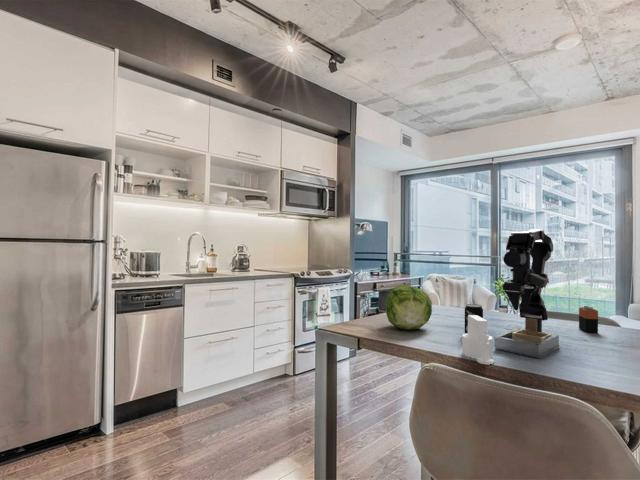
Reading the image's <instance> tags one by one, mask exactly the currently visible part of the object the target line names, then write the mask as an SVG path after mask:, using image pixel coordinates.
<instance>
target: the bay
mask: <svg viewBox="0 0 640 480" xmlns="http://www.w3.org/2000/svg"><path fill="white" fill-rule="evenodd" d="M520 329H521V328H519V327H516V328H513V329H511V330H509V331H506V332H503V333H501V334H499V335H496V336H494V343H493V344H494V345H493V346H494V349H495V350H498V349H499V351H502V350H504V351H503V352H507V351H509V352H508V353H511V352H514V353H513V354H516V353H518V354H517V355H521V354H523V355H522V356H525V355H527V356H526V357H530V356H532V357H531V358H535V357H536V358H535V359H539V358H541V359H543V358H544V357H546V356H548V355H549V354H551V353H554V352H555V351H557V350H558V349H560V344H559V343H560V335H559V334H555V333H554V334H553V335H552V336H551V337H548V338H546V339H544V340H542V341H540V342H538V343H536V344H534V343H529V342H524V341H518V340H513V339H512V333H513V332H515V331H518V330H520ZM542 357H543V358H542Z"/></svg>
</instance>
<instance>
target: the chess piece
mask: <svg viewBox="0 0 640 480" xmlns="http://www.w3.org/2000/svg"><path fill="white" fill-rule="evenodd" d="M483 333H485V334H484V335H482V337H483V341H484V342H482V344H483V345H484V349H483V355H482V357H479V358H477V359H476V362H477V363H478V364H481V365H488V366H491V365H490V364H492V365H494V364H495V360H494V359H493V358H490V357H489V355H488V348H487V345H489V343H488V342H487V341H488V339H489V336H490V335H489V333H490V331H488V328H487V329H485V331H483ZM493 363H494V364H493Z"/></svg>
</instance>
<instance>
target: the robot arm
mask: <svg viewBox="0 0 640 480" xmlns="http://www.w3.org/2000/svg"><path fill="white" fill-rule="evenodd" d="M506 243H507V244H506V248H505V250H506V251H507V252H505V254H504V256H503V257H502V258H503V259H502V260H503V263H504V265H505V266H507V267H509V268H510V272H512V279H510V281H505V282H503V284H502V286H501V287H502V289H501V290H502V291H504V293H505V294H506V296H507V298H508V300H509V302H510V303H511V306H512V307H513V310H514V311H518V310H519V311H518V312H519V316H520V318H522V319H523V318H524V319H525V321H524V322H525V323H524V325H525V326H524V330H526V318H532V319H537V332H541V333H545V332H544V331H543V321H548V319H549V318H548V317H549V316H548V315H549V314H548V310H547V308H546V305H545V302H544V300H543V297H542V290H543V288H547V285H548V284H549V282H550V281H549V280H550V278H549V277H548V274H546V273H545V267H546V262H547V261H548V260H549V259H550V258H551V257H552V253H553V251H554V243H553V241H552V238H551V237H550V236H549V235H547V234H546V233H545V230H544V229H540V228H538V229H529V230H527V231H512V232H511V233H510V234H509V236H508V239H507V242H506ZM531 258H532V261H531ZM531 262H532V263H531Z"/></svg>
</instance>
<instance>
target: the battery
mask: <svg viewBox="0 0 640 480" xmlns="http://www.w3.org/2000/svg"><path fill="white" fill-rule="evenodd" d="M578 329H579V330H580V331H582V332H583V333H584V332H585V333H588V334H590V333H591V334H598V333H599V311H598V310H597V309H595V308H594V307H592V306H589V305H584V306H583V307H579V308H578Z"/></svg>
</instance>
